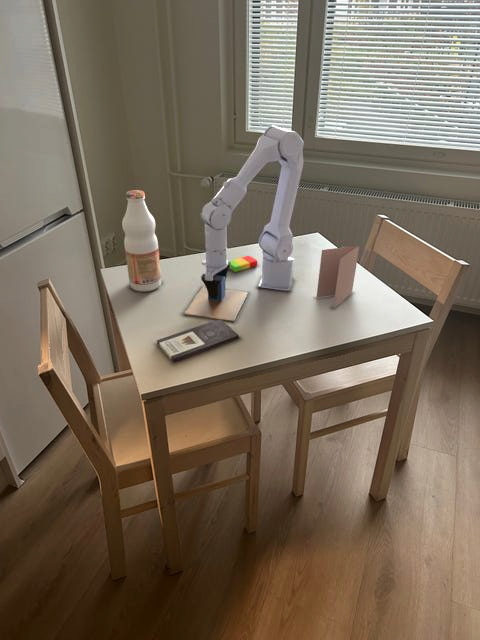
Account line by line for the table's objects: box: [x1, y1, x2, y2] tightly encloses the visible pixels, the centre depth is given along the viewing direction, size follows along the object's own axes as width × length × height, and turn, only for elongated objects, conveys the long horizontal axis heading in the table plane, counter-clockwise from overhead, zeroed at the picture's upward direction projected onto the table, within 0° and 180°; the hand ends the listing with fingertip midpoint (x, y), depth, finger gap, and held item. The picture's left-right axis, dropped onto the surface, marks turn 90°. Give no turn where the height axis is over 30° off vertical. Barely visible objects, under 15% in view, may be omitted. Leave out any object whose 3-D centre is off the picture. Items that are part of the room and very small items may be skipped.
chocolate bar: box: [156, 319, 240, 363], centre depth 112 cm, size 9×1×18 cm
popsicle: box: [227, 255, 258, 273], centre depth 147 cm, size 6×15×2 cm, turn 124°
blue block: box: [208, 275, 226, 301], centre depth 129 cm, size 4×4×6 cm
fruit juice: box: [121, 189, 162, 292], centre depth 130 cm, size 9×9×28 cm
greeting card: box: [316, 244, 360, 309], centre depth 126 cm, size 11×7×15 cm, turn 107°
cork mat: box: [183, 286, 249, 322], centre depth 128 cm, size 14×16×1 cm
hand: (217, 292), depth 130 cm, fingers open, 6 cm apart
